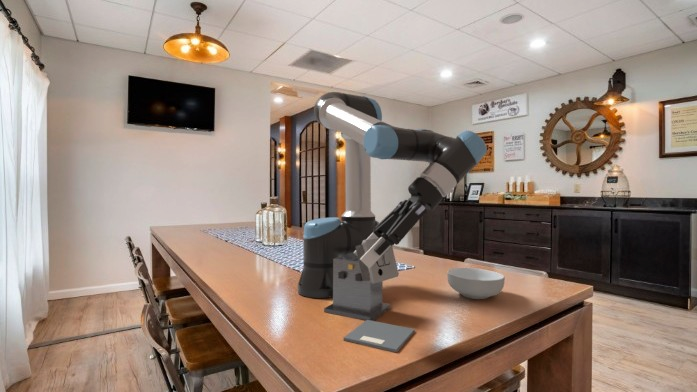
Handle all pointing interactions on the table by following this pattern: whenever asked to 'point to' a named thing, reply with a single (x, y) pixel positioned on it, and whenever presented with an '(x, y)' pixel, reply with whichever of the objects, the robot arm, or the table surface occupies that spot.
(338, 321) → the table surface
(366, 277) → the electrical switch
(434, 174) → the robot arm
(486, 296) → the cereal bowl
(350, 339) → the pad
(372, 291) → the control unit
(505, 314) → the table surface
